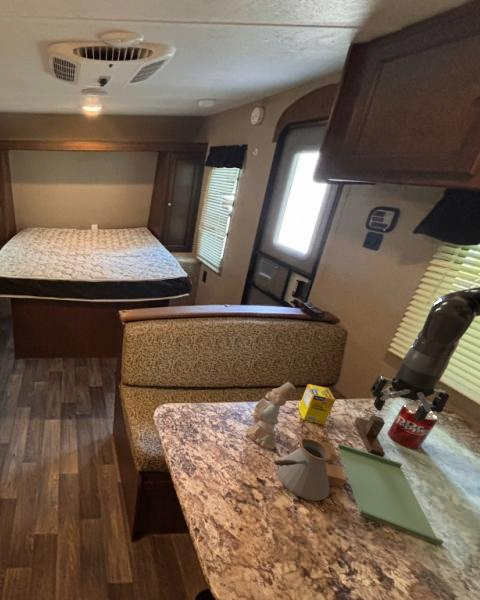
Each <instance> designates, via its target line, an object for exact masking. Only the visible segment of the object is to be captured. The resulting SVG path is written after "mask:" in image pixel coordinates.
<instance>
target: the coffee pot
mask: <svg viewBox="0 0 480 600" xmlns="http://www.w3.org/2000/svg"><path fill="white" fill-rule="evenodd" d="M316 440H317V439H313V438H310V437H309V438H308V437H301V438H300V440H299V447H300V448H298V449H296V450H294V451H292V452H290V453H289V454H287V455H285V456H283V457H281V458H280V459H278V460H275V461H274V460H272V462H273V465H275V466H276V467H275V468H276V469H273V468H272V467H271V466H270V462H271V460H269V461H268V463H267V465H268V467H269V468H270V470H272V471H274V472H276V473H277V476H278V479H279V480H280V482H281V484H283V486H284V487H285V488H286V489H287V490H288V491H289V492H291V493H292V494H294V495H296V496H297V497H299V498H301V499H304V500H307V501H313V502H318V501H321V500H324V499H326V498H328V497H329V495H330V492H331V488H330V485H329V481H328V474H327V468H326V464H327V463H326V462H327V461H329V460H330V459H331V457H332V456H331V452H330V451H329V449H328V448H327V447H326V446H324V445H323V444H322V443H320V442H318V441H316Z"/></svg>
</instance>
